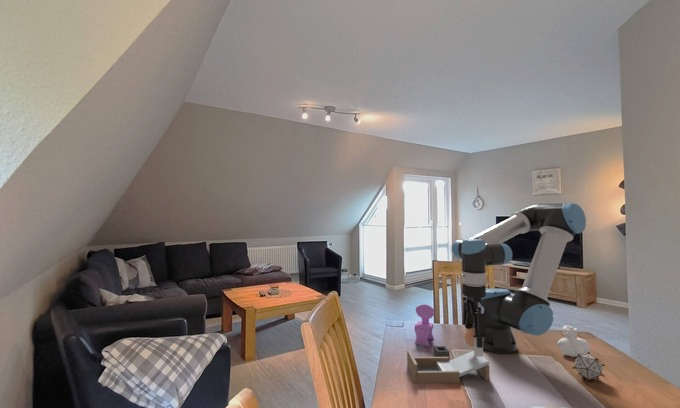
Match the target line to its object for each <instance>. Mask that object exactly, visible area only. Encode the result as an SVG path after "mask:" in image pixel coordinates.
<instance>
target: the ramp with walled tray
mask: <svg viewBox="0 0 680 408" xmlns="http://www.w3.org/2000/svg"><path fill="white" fill-rule="evenodd" d="M406 353H407V354H406V355H407V357H406V359H407V361H406V362H407V369H408V372H409V373H410V375H411V379H412V380H413V383H414V384H436V383H437V384H445V383H446V384H448V383H449V384H451V383H452V384H453V383H454V384H455V383H457V384H458V383H461V382H460V381H461V379H460V377H462V376H463V377H464V376H465V375H468V374H470V373H472V372H475V371H477V372H478V374H479V375H480V377H482V378H483V379H484V380H485V381H491V380H490V378H491V377H490V362H489V360H487V358H486V357H485V356H484V355H483V357H475V356H474V350H472V351H469V352H467V353H465V354H462V355H459V356H456V357H455V358H453V359H451V360H450V356H449V357H436V356H414V355H413V353H412V351H411V350H410V349H407V350H406Z"/></svg>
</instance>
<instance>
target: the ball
mask: <svg viewBox="0 0 680 408" xmlns="http://www.w3.org/2000/svg"><path fill="white" fill-rule="evenodd" d="M473 335H475V330H474V328H470V329H468V330H467V331H466V330H465V333H464V340H465V343H466V342H467V343H468V344H469V345H470V346H472V347H474V337H473ZM483 340H484V338H483Z"/></svg>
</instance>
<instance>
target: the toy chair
mask: <svg viewBox="0 0 680 408" xmlns="http://www.w3.org/2000/svg"><path fill="white" fill-rule="evenodd" d="M415 313H416V314H417V316H418V317H419V318H421V320H418V321H417V322H416V324H414V332H415V337H416V339H415V341H414V344H416V345H421V346H426V347H431V345H430V343H429V340H435V337H434V335H433V329H434V323H433V322H430V319H432V318H433V317H434V316H435V314H436V311H435V309H434V308H433V307H432V306H431V305H429V304H420V305H417V306H416V307H415ZM428 339H429V340H428Z"/></svg>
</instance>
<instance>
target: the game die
mask: <svg viewBox="0 0 680 408" xmlns="http://www.w3.org/2000/svg"><path fill="white" fill-rule="evenodd" d="M572 358H573V359H574V366H572V367H571V369H575V370H576V371H577V372H578V375H581V376H583V377H584V378H585V379H586V382H587V383H589V382H590V380H592V379H597V380H600V378H599V377H603V378H605V377H606V376H605V374H603V367H606V364H603V363H601V362H600V361H599V358H597V357H596V358H595V357H594V356H592V355H591V354H590V352H588V354H585V355H581V356H580V355H579V354H578V357H572Z"/></svg>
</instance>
